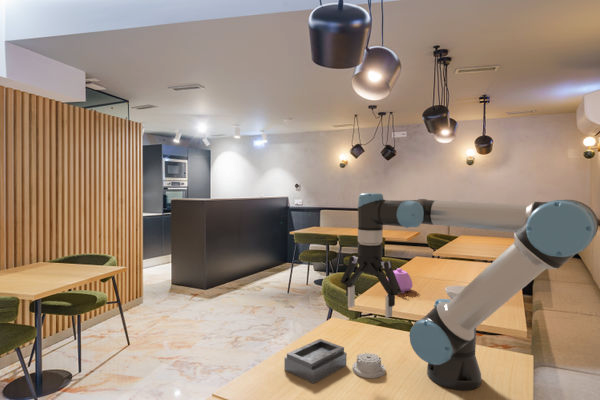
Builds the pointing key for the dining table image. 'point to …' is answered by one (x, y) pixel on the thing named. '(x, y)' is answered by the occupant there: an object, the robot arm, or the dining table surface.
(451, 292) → the bowl
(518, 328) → the dining table surface
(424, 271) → the dining table surface
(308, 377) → the dark grey rectangular box
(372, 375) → the mechanical component
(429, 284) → the dining table surface
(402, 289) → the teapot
